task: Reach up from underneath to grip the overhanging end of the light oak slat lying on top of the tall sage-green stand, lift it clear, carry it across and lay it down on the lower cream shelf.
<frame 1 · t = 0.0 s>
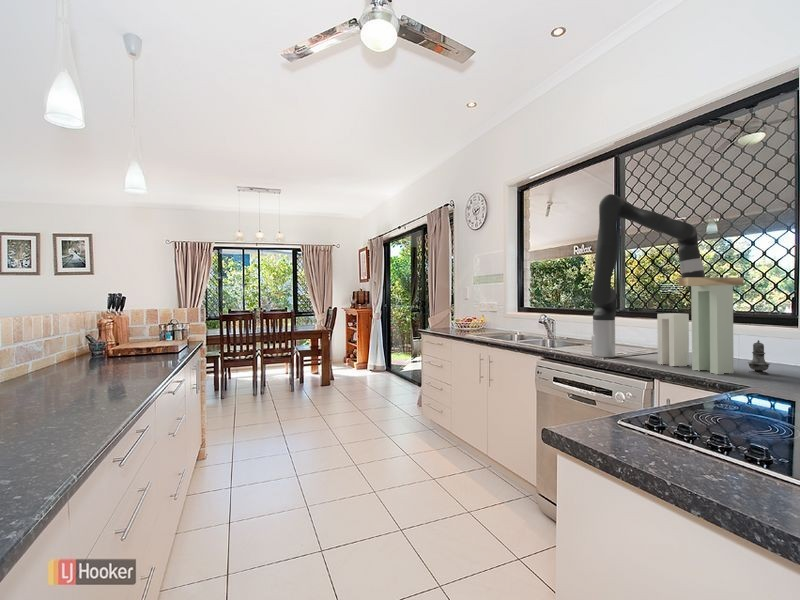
hand: (699, 310, 154), 22 cm above the table, tool pointing down, fingers open, 8 cm apart
oak slat: (711, 285, 141), point 32 cm above the table, touching sage stand
salt shaker: (758, 373, 137), on the table
sage stand: (712, 371, 141), on the table
cream shelf: (673, 364, 155), on the table
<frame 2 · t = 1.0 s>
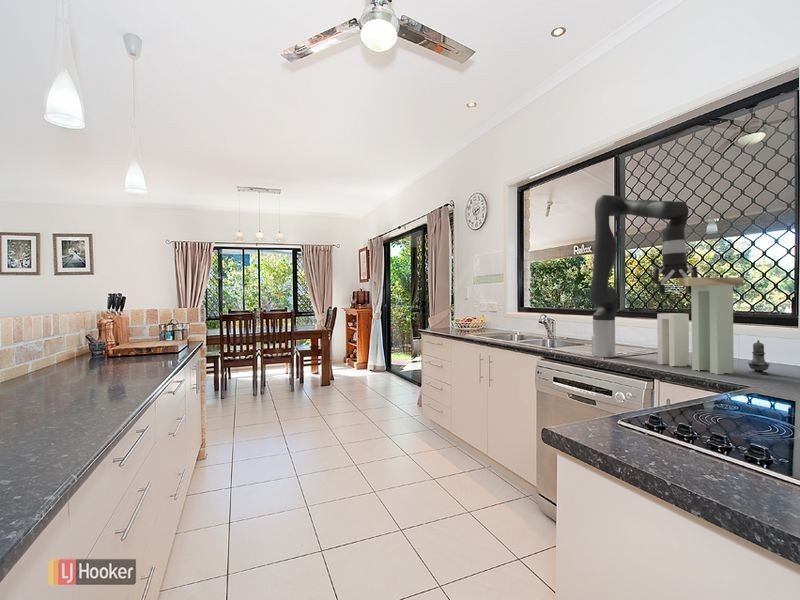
hand: (675, 294, 147), 29 cm above the table, tool pointing down, fingers open, 8 cm apart
nothing on the table moved.
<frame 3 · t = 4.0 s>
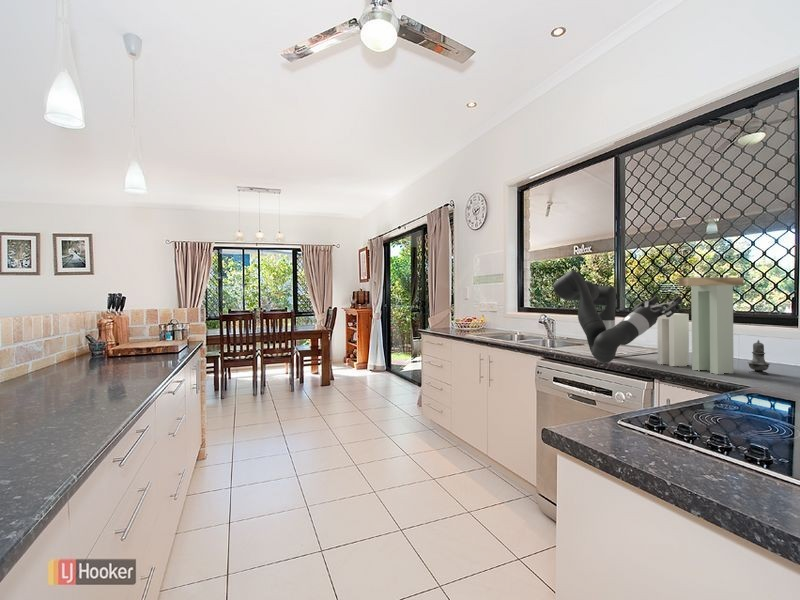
hand: (668, 298, 135), 28 cm above the table, tool pointing upward, fingers open, 8 cm apart
nothing on the table moved.
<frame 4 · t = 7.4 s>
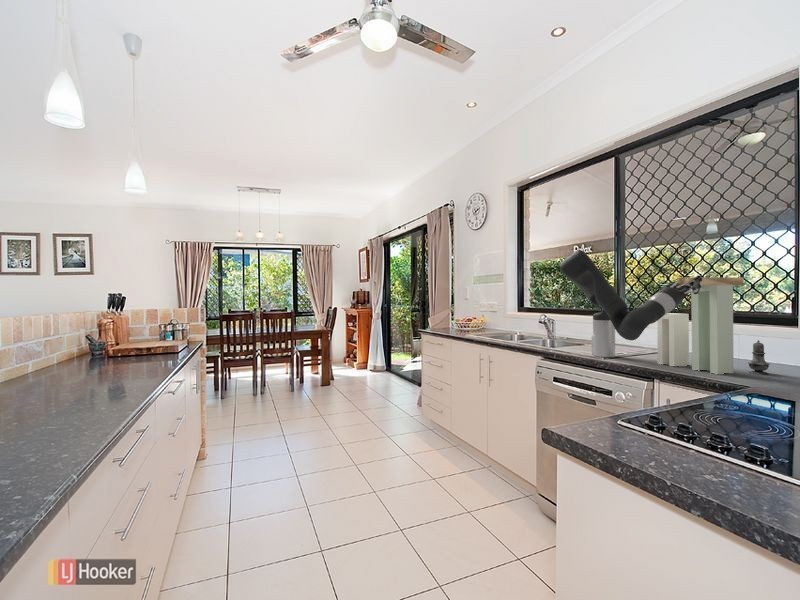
hand: (694, 277, 138), 35 cm above the table, tool pointing upward, fingers closed on oak slat, 3 cm apart
oak slat: (711, 285, 141), point 32 cm above the table, touching gripper, sage stand
everything else where it was.
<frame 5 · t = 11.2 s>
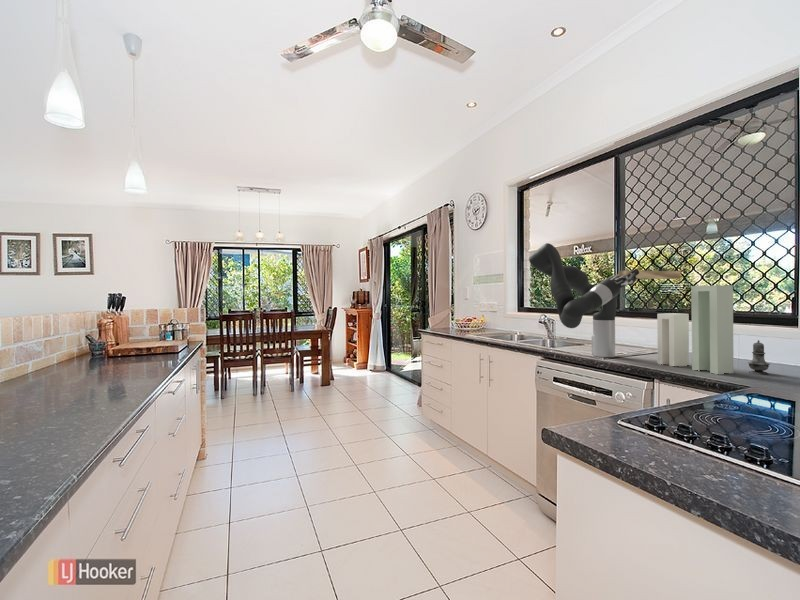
hand: (633, 271, 149), 38 cm above the table, tool pointing upward, fingers closed on oak slat, 3 cm apart
oak slat: (649, 278, 152), point 35 cm above the table, touching gripper
everything else where it was.
when the fingers open (26 cm above the table, at t = 15.1 s): oak slat drops 2 cm, resting on cream shelf.
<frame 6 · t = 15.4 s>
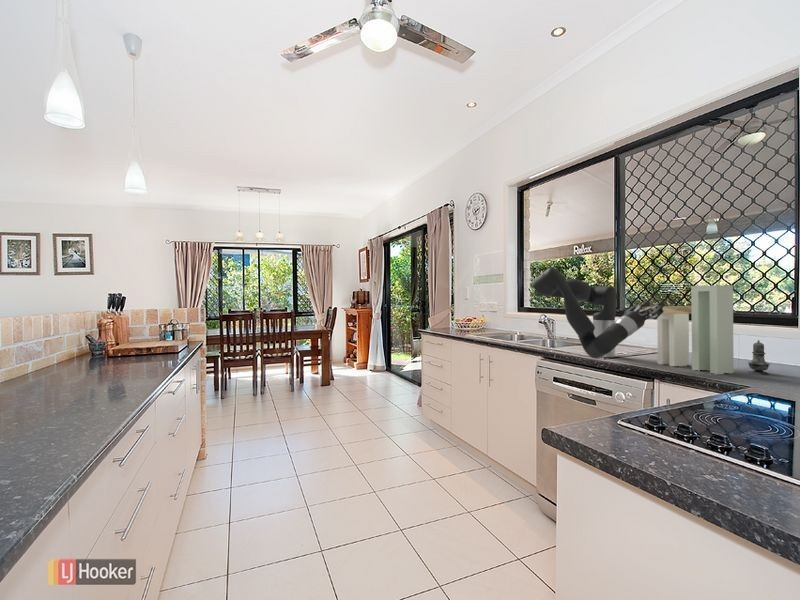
hand: (655, 302, 153), 26 cm above the table, tool pointing upward, fingers open, 6 cm apart
oak slat: (672, 313, 155), point 21 cm above the table, touching cream shelf
everything else where it was.
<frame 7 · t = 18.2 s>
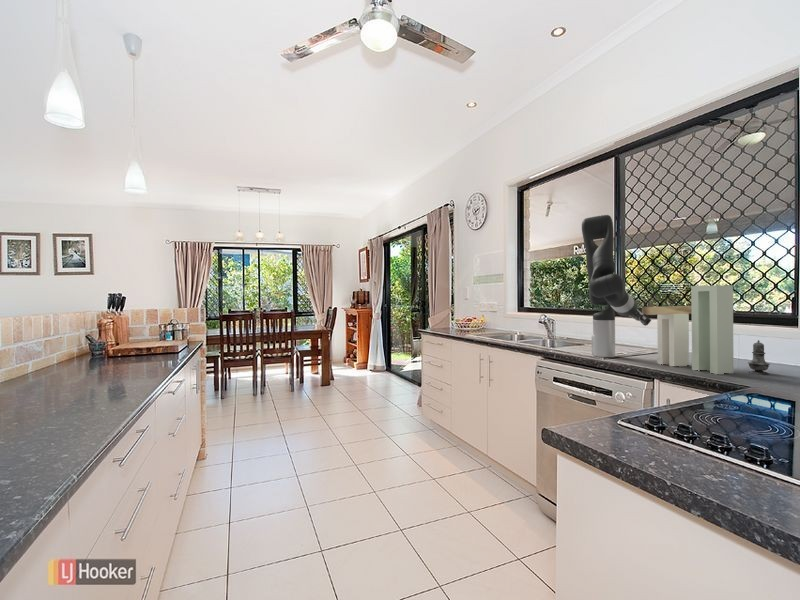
hand: (636, 318, 153), 20 cm above the table, tool tilted 65°, fingers open, 8 cm apart
nothing on the table moved.
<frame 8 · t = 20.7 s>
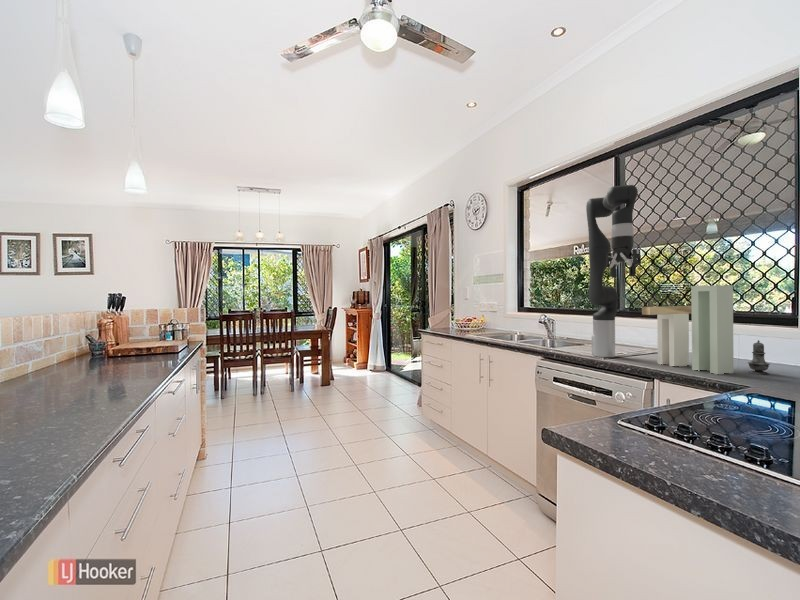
hand: (622, 277, 150), 36 cm above the table, tool pointing down, fingers open, 8 cm apart
nothing on the table moved.
at the end: oak slat inside the target area (0.1 cm from its centre), point 21.0 cm above the table; the gripper is holding nothing; oak slat tilted 0° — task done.
